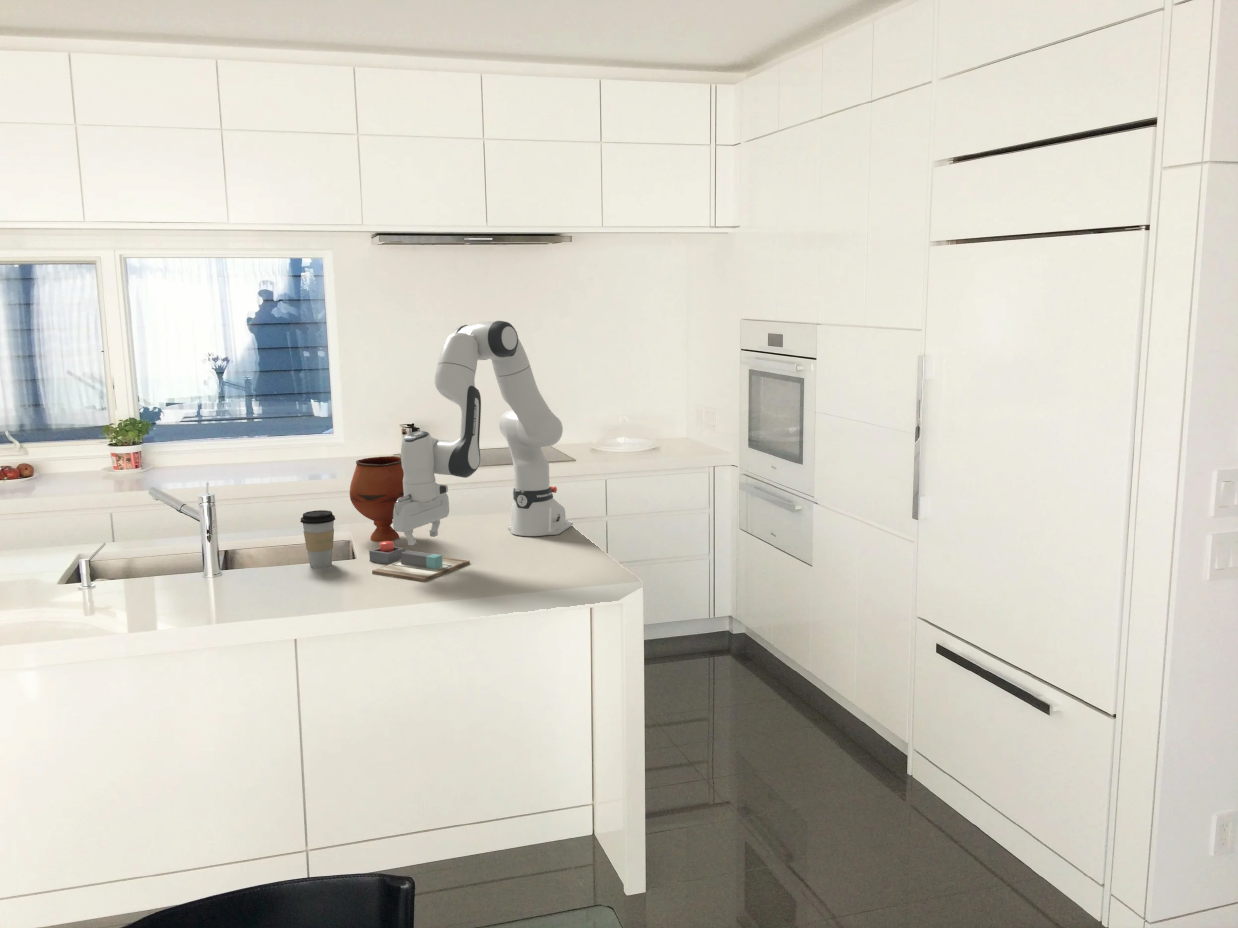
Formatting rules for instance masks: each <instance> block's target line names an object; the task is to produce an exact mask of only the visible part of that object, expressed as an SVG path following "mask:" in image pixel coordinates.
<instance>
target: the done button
mask: <svg viewBox="0 0 1238 928" xmlns="http://www.w3.org/2000/svg"><path fill="white" fill-rule="evenodd" d="M394 547H395V542H394V540H392V541H383V542H379V548H380V552H387V553H388V552H391V551H394Z"/></svg>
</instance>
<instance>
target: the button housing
mask: <svg viewBox="0 0 1238 928" xmlns="http://www.w3.org/2000/svg"><path fill="white" fill-rule="evenodd" d="M405 551H406V550H405V547H400V546H394V551H391V552H388V553H387V552H380V547H377V548H374V549H371V550H369V551H368V553H369V554H368V555H369V562H372V563H373V562H374V563H379V564H386V565H389V564H392V563H395V562H398V561H400V560H401V553H402V552H405Z"/></svg>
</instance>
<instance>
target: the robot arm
mask: <svg viewBox="0 0 1238 928" xmlns="http://www.w3.org/2000/svg"><path fill="white" fill-rule="evenodd" d="M520 340H521V339H519V336H518V331H517V330H516V328H515V327H514V326H513V325H512V324H511V322H508V321H503V320H496V321H480V322H476V323H471V324H464V325H460V326H459V327H456V328H455V329H454V330H453V331H452V333H451V334H450V335H448V336H447V338H446V340H445V342H444V343H443V347H442V348H441V351H440V353H439V358H438V361H437V365H436V369H435V375H434V386H435V387H436V390H437V391H438V393H439V394H440V395H441V396H442V397H444V398H445V399H446V400H448V401H450V402H452V403H454V404H456V405H458V406H459V407H460V411H461V419H460V436H459V438H458V439H457V440H446V439H445V440H444V439H439V438H436V437H432V436H431V434H430V433H429V432H428V431H425V430H417V431H412V432H410V433H407V434H405V436H403V437H402V439H401V446H400V447H401V448H400V457H401V464H402V469H403V472H404V477H403V492H404V497H400V498H398V500H397V501H396V503H395V507H394V512H393V523H392V526H393V527H392V528H393V529H394V530H395V531H396V532H397V533H399V532H400V533H403V534H404V536H405V538H406V540H407V545H408V546H415V545H416V544H417V537H414V535H413V534H414V529H417V528H420V527H423V526H426V525H428V524H431V529H429V530H428V531H429V537H431V538H432V537H433V538H434V537H437V536H438V535H439V528H440V524H441V520H442V519H444V518H447V517H448V516H449V513H450V501H449V496H448V492H449V487H448V485H447V484H443V483H437V482H436V476H435V475H445V476H452V477H453V476H454V477H460V478H464V479H466V478H469V477H471V476H472V475H473V474H474V473H476V471H477V470H478V468H479V467H480V464H481V449H480V437H481V434H480V433H481V419H482V418H481V417H482V415H481V413H482V398H481V393H480V391H479V389H478V388H476V386H475V385H476V384H475V378H476V372H477V367H478V361H487V360H491V364H492V368H493V372H494V375H495V378H496V381H497V384H498V387H499V391H500V394H501V397H502V399H503V400H504V401H505V402H506V403H507V404H508V406H509V407H510V408H511V409H508V410H507V411H505V412H504V413H503V414H502V415H501V416H500V419H499V425H498V426H499V430H500V433H501V434H502V436H503V437H504V439H505V441H506V442H507V443H506V444H507V445H508V448H509V452H510V455H511V459H512V465H513V474H514V475H513V478H514V481H513V482H514V488H513V491H512V498H513V499H512V500H514V501H513V503H512V504H511V510H510V512H511V513H510V524H509V525H507V529H508V530H509V531H510V533H511V534H513V535H515V536H523V537H540V536H542V537H543V536H553V535H554V536H555V535H559V534H561V533H563V532H564V531H566V530H568V529H569V528H570V527H572V526H573V525H574V522H573V521H572V520H569V519H567V518H566V517H567V516H566V509H565V507H564V506H563V505H562V504H561V503H560V502H558V501H557V499H555V498H554V494H553V493H555V494H556V493H557V491H558V487H557V486H552V485H551V486H550V464H549V461H548V459H547V458H546V456H545V455H544V454H543V451H542V447H549V446H551V447H552V446H554V445H555V444H556V445H557V443H558V442H559V441H560V440H561V438H562V436H563V431H564V430H563V423H562V421H561V420H560V418H559V417H557V416H556V415H555V413H554V412H552V410H551V409H550V407H549V405H548V404H547V402H546V401H545V399H544V397H543V395H542V394H541V392H540V390H539V388H538V385H537V383H536V380H535V376H534V374H533V371H532V370H533V369H532V368H531V364H530V360H529V358H528V355H527V353H526V351H525V349H524V347H523V344H522V342H521V341H520Z"/></svg>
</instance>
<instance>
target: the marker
mask: <svg viewBox="0 0 1238 928" xmlns="http://www.w3.org/2000/svg"><path fill="white" fill-rule="evenodd" d="M442 557H443V555H442V554H437V553H428V552H423V551H415V550H409V549H407V550H405V552H402V553H401V564H404V565H410V566H417V567H424V568H430V569H437V568H440V567H443V563H442Z"/></svg>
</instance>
